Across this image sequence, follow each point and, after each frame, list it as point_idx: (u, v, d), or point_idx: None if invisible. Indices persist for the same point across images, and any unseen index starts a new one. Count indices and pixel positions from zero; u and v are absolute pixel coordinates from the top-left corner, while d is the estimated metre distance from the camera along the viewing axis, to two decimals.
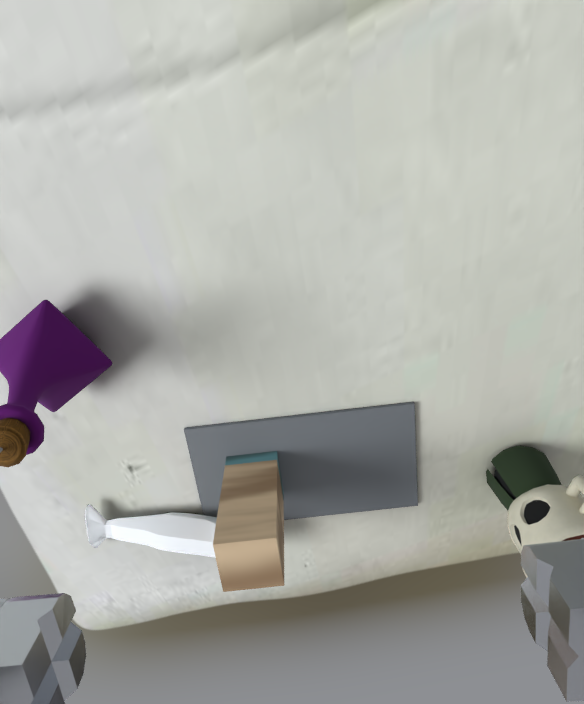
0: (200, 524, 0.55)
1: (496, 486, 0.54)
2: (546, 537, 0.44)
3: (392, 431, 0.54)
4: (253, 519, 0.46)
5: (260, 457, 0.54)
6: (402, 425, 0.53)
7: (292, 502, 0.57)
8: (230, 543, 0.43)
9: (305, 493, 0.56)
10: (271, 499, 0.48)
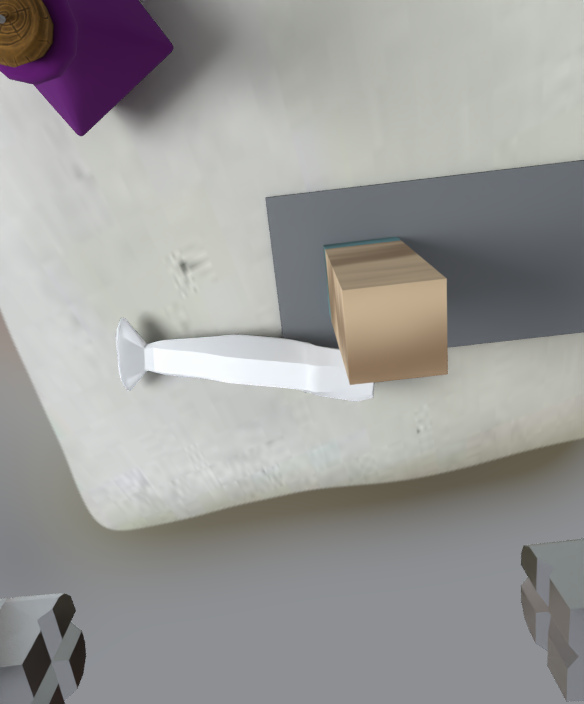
0: (283, 344, 0.38)
1: None
2: None
3: (564, 206, 0.37)
4: (397, 271, 0.29)
5: (375, 241, 0.37)
6: (579, 195, 0.37)
7: None
8: (371, 289, 0.27)
9: None
10: (414, 259, 0.31)
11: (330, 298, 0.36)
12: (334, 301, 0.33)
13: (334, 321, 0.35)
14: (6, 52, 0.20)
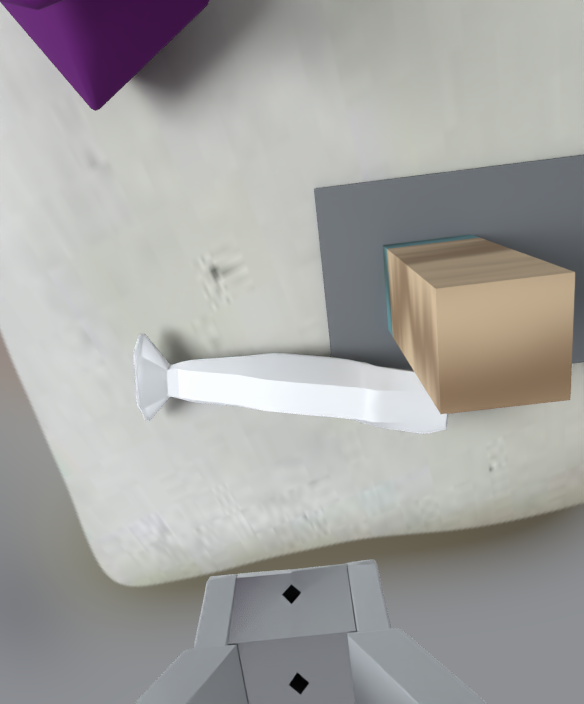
0: (335, 365, 0.31)
1: None
2: None
3: None
4: (498, 267, 0.22)
5: (447, 239, 0.31)
6: None
7: None
8: (473, 287, 0.20)
9: None
10: (511, 254, 0.24)
11: (394, 308, 0.30)
12: (406, 309, 0.26)
13: (402, 335, 0.28)
14: None
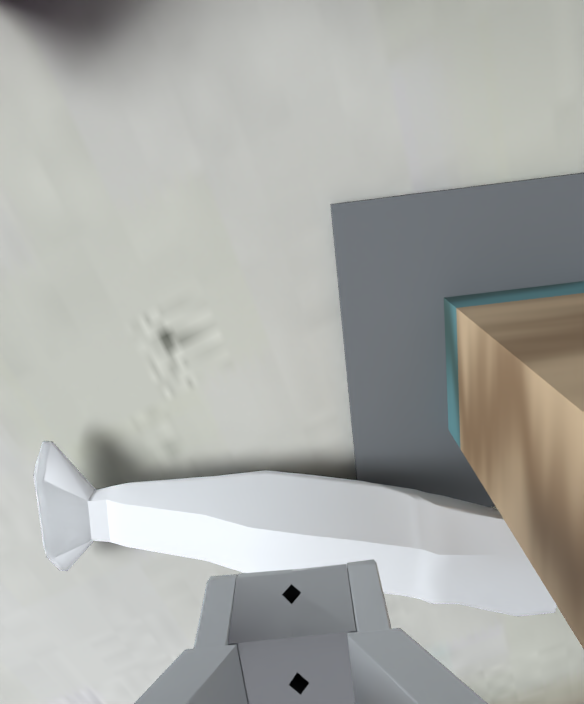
0: (365, 498, 0.19)
1: None
2: None
3: None
4: None
5: (556, 290, 0.18)
6: None
7: None
8: None
9: None
10: None
11: (469, 410, 0.17)
12: (512, 439, 0.14)
13: (491, 469, 0.16)
14: None
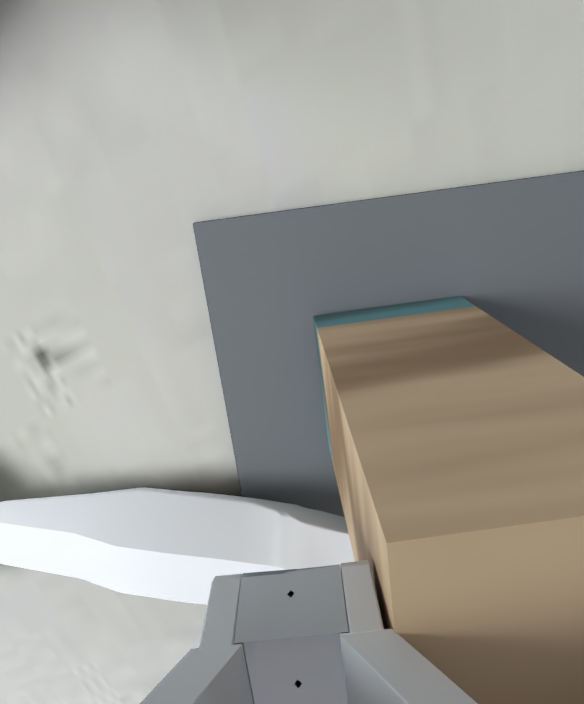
0: (235, 515, 0.19)
1: None
2: None
3: None
4: (536, 431, 0.10)
5: (420, 308, 0.18)
6: None
7: None
8: (490, 537, 0.07)
9: None
10: (551, 372, 0.12)
11: (331, 431, 0.17)
12: (343, 466, 0.14)
13: (342, 492, 0.16)
14: None
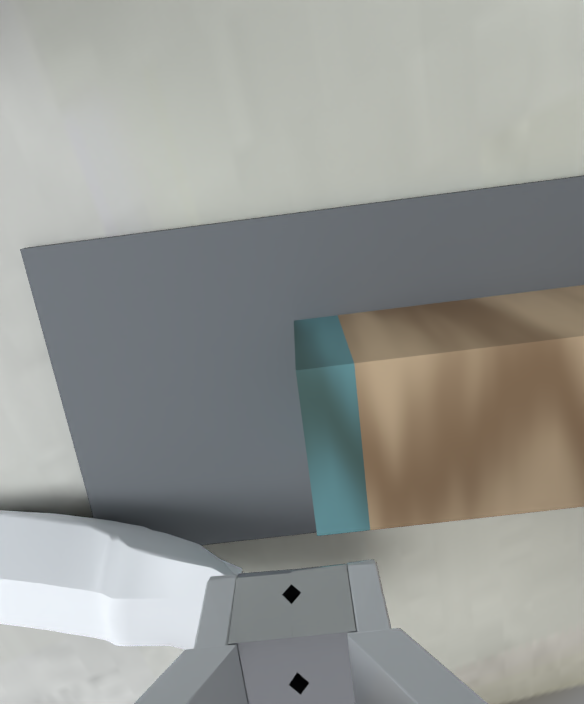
0: (68, 538, 0.19)
1: None
2: None
3: None
4: None
5: (322, 330, 0.17)
6: None
7: None
8: None
9: None
10: (513, 297, 0.18)
11: (404, 464, 0.15)
12: (537, 422, 0.15)
13: (478, 486, 0.15)
14: None
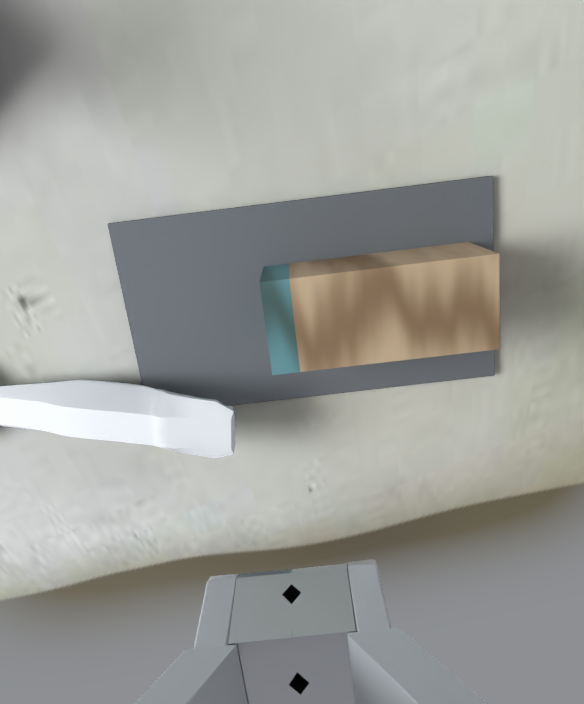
0: (132, 392, 0.33)
1: None
2: None
3: (455, 230, 0.32)
4: (435, 251, 0.31)
5: (277, 269, 0.31)
6: (471, 218, 0.32)
7: None
8: (489, 252, 0.29)
9: None
10: (387, 252, 0.32)
11: (317, 334, 0.29)
12: (384, 311, 0.28)
13: (356, 347, 0.29)
14: None
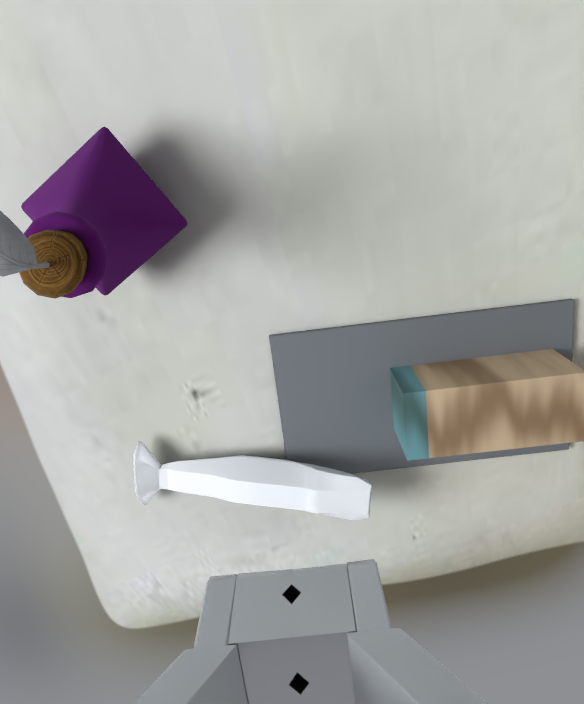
0: (286, 467, 0.41)
1: None
2: None
3: (542, 340, 0.41)
4: (530, 361, 0.39)
5: (405, 373, 0.40)
6: (556, 331, 0.41)
7: None
8: (576, 367, 0.38)
9: None
10: (489, 358, 0.41)
11: (444, 430, 0.37)
12: (497, 413, 0.37)
13: (473, 440, 0.38)
14: (49, 289, 0.24)
